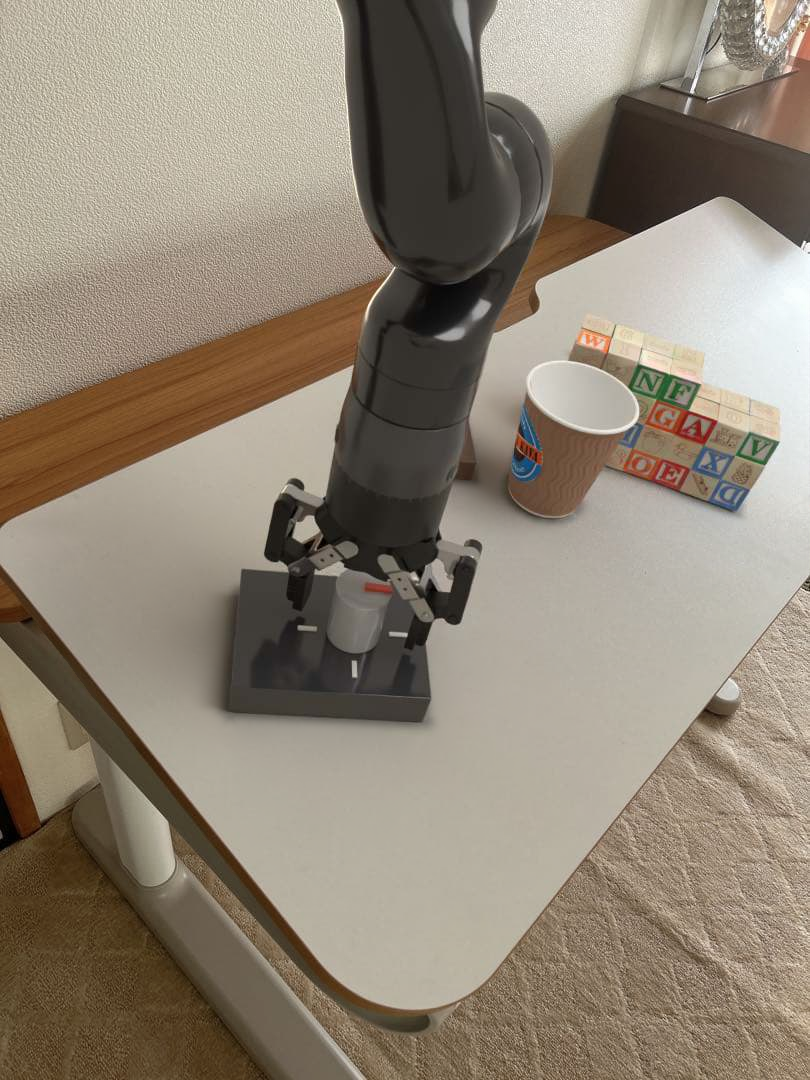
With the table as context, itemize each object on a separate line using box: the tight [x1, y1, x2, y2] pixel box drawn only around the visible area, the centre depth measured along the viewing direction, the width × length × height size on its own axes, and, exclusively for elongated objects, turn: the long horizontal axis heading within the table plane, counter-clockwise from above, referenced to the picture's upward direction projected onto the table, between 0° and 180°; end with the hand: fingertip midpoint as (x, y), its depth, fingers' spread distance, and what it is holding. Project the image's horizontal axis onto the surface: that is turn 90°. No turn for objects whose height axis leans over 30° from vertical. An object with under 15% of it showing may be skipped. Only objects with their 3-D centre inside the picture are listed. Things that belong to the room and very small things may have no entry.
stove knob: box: [326, 568, 392, 653], centre depth 64 cm, size 4×4×5 cm
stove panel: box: [228, 568, 432, 723], centre depth 66 cm, size 14×11×3 cm
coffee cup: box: [508, 360, 639, 519], centre depth 81 cm, size 10×10×12 cm
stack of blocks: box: [567, 313, 781, 512], centre depth 88 cm, size 21×6×12 cm, turn 71°
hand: (355, 621), depth 64 cm, fingers open, 8 cm apart
